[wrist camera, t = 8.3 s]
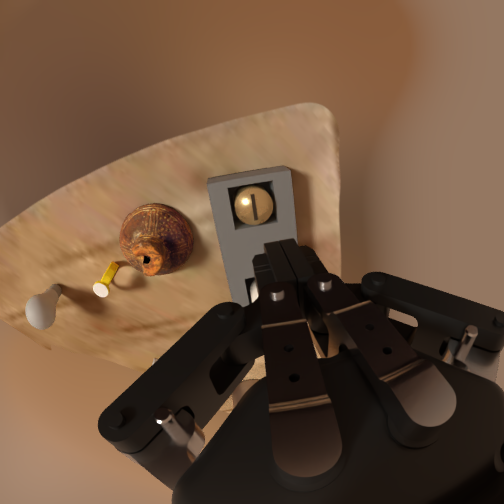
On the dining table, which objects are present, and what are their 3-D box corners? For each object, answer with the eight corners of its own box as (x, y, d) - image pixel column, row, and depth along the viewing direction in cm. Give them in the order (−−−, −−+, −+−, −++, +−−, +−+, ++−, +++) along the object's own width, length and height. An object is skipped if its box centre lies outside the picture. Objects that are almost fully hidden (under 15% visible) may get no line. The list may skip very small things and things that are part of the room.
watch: (113, 285, 44) (102, 306, 39) (100, 277, 43) (88, 297, 38) (125, 262, 42) (113, 283, 37) (112, 253, 41) (98, 274, 36)
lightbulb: (75, 287, 43) (50, 324, 33) (65, 305, 44) (43, 341, 35) (51, 267, 40) (23, 301, 31) (42, 286, 42) (17, 321, 32)
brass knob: (270, 212, 40) (275, 221, 37) (236, 217, 40) (238, 228, 36) (265, 179, 38) (270, 186, 34) (230, 185, 38) (232, 192, 34)
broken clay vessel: (195, 270, 44) (192, 296, 38) (126, 270, 43) (114, 295, 36) (192, 201, 39) (187, 218, 33) (117, 203, 38) (99, 220, 31)
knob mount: (295, 290, 48) (301, 303, 45) (234, 302, 48) (236, 316, 44) (283, 165, 38) (290, 170, 34) (208, 178, 38) (206, 184, 34)
